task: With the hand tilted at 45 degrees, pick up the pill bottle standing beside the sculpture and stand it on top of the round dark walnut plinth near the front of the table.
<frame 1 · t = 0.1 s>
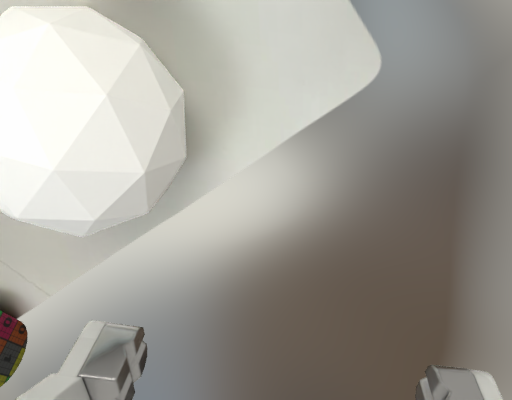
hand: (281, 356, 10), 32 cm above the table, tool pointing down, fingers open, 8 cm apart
geometric sculpture: (122, 93, 41), on the table
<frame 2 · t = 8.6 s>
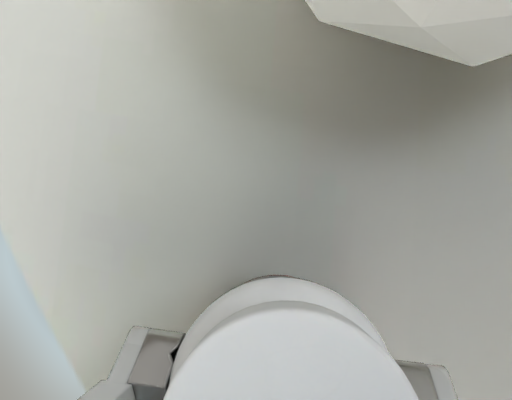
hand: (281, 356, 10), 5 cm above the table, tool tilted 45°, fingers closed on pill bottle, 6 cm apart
pill bottle: (276, 340, 16), on the table, touching gripper
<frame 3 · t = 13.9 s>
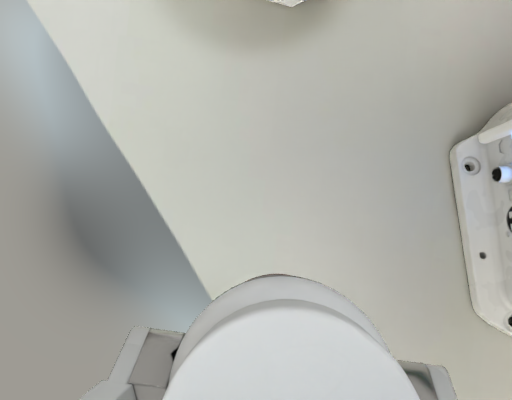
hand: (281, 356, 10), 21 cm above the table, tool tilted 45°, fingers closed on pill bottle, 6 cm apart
pill bottle: (276, 339, 16), point 16 cm above the table, touching gripper
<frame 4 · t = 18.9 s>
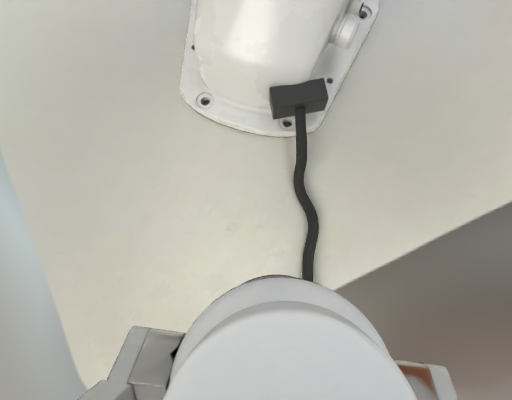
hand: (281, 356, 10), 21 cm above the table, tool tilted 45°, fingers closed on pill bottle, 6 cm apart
pill bottle: (275, 340, 16), point 16 cm above the table, touching gripper
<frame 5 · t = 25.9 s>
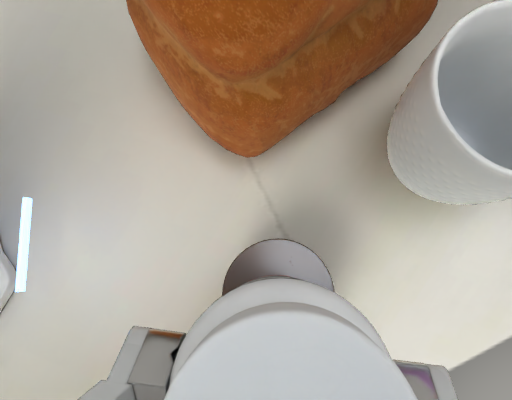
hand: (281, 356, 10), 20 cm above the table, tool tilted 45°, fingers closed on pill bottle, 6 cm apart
mug: (434, 148, 33), on the table
pill bottle: (276, 340, 16), point 15 cm above the table, touching gripper
walnut plinth: (276, 290, 31), on the table
bread: (277, 50, 35), on the table, touching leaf
when the fingers open (10 cm above the table, at t = 29.2 s): pill bottle stays where it is, resting on walnut plinth.
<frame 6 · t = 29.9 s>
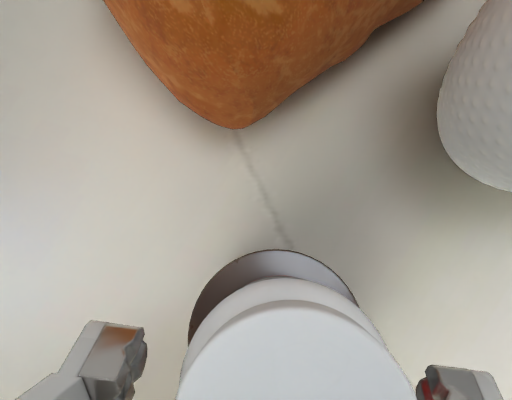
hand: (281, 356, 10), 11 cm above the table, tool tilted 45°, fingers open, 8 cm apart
mug: (498, 119, 23), on the table
pill bottle: (279, 339, 16), point 5 cm above the table, touching walnut plinth
walnut plinth: (274, 323, 21), on the table
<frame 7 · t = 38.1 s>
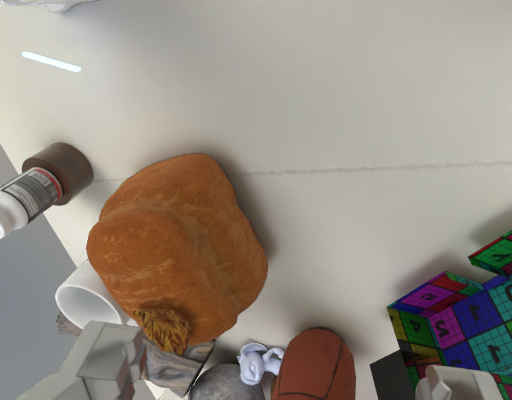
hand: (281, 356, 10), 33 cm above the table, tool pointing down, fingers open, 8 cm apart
potted plant: (307, 336, 63), on the table
mug: (141, 257, 64), on the table
sculpture: (203, 374, 68), point 6 cm above the table
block: (453, 351, 39), point 11 cm above the table
pill bottle: (47, 182, 52), point 5 cm above the table, touching walnut plinth
toy figurine: (302, 371, 66), point 2 cm above the table
walnut plinth: (70, 166, 56), on the table
bread: (204, 217, 54), on the table, touching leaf
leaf: (161, 306, 41), point 16 cm above the table, touching bread
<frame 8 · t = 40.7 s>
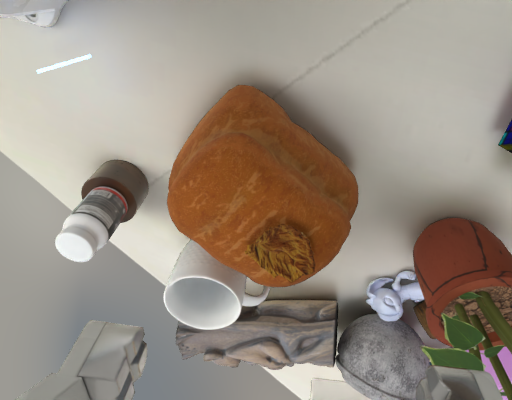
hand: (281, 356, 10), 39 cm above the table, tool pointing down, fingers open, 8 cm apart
potted plant: (428, 240, 56), on the table
teapot: (496, 329, 65), on the table, touching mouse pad
mug: (225, 244, 61), on the table
sculpture: (341, 336, 62), point 6 cm above the table
utensil holder: (420, 323, 61), point 3 cm above the table
pill bottle: (110, 201, 52), point 5 cm above the table, touching walnut plinth
toy figurine: (441, 283, 58), point 2 cm above the table
walnut plinth: (123, 182, 56), on the table
bread: (266, 162, 51), on the table, touching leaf
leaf: (268, 237, 38), point 16 cm above the table, touching bread
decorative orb: (395, 346, 56), point 10 cm above the table, touching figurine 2
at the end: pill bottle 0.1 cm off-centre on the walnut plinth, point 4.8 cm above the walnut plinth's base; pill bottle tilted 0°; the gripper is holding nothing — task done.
